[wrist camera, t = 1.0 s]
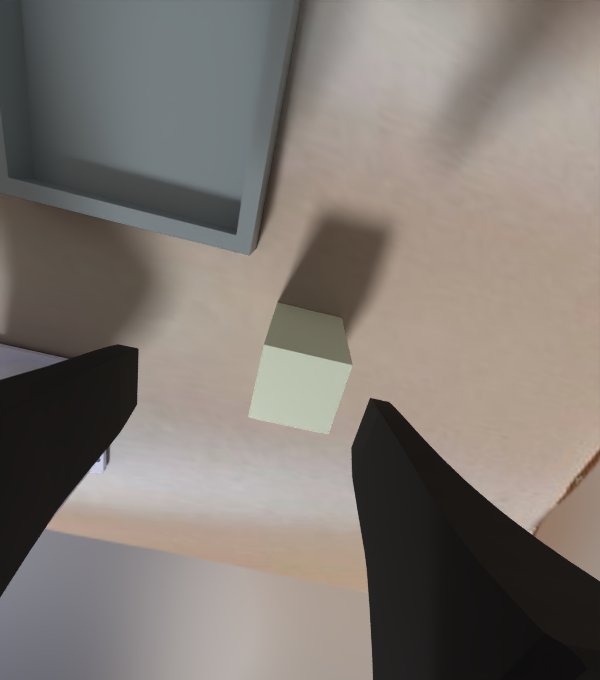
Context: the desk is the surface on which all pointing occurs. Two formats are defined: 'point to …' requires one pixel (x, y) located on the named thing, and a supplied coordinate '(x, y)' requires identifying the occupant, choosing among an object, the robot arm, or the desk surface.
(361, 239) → the desk surface
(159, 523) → the desk surface
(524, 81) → the desk surface
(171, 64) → the tray
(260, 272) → the desk surface
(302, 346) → the sage block
